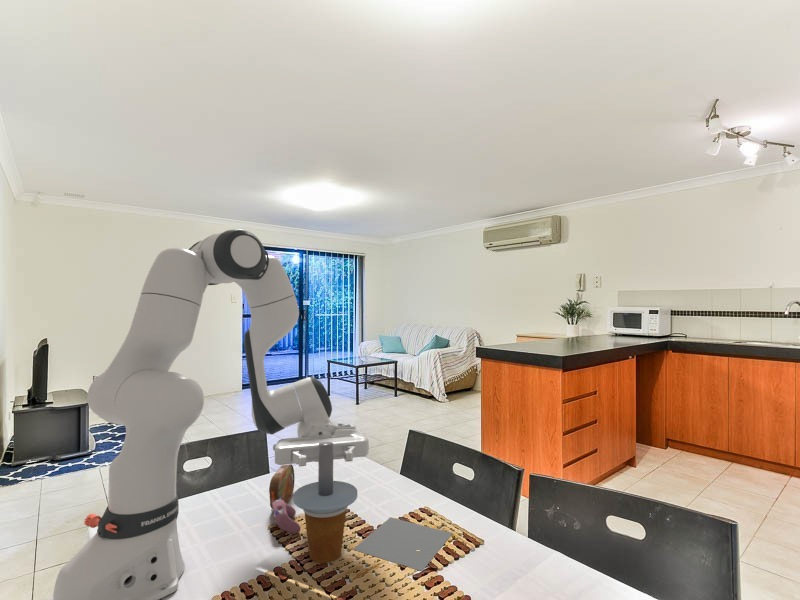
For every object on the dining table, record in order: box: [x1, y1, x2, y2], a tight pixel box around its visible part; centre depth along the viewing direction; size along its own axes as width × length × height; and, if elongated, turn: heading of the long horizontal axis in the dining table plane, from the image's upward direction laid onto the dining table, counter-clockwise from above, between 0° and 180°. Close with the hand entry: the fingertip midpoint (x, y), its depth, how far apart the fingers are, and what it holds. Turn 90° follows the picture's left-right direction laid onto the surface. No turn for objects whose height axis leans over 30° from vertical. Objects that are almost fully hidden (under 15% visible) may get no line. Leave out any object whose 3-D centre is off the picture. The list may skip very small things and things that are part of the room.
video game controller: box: [270, 499, 301, 535], centre depth 101 cm, size 10×5×7 cm, turn 21°
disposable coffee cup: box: [302, 506, 348, 564], centre depth 89 cm, size 10×10×12 cm
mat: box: [352, 517, 454, 572], centre depth 93 cm, size 16×16×1 cm
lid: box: [292, 442, 358, 512], centre depth 89 cm, size 13×13×11 cm
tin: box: [268, 464, 295, 510], centre depth 114 cm, size 15×3×8 cm, turn 179°
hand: (326, 460), depth 88 cm, fingers open, 8 cm apart
